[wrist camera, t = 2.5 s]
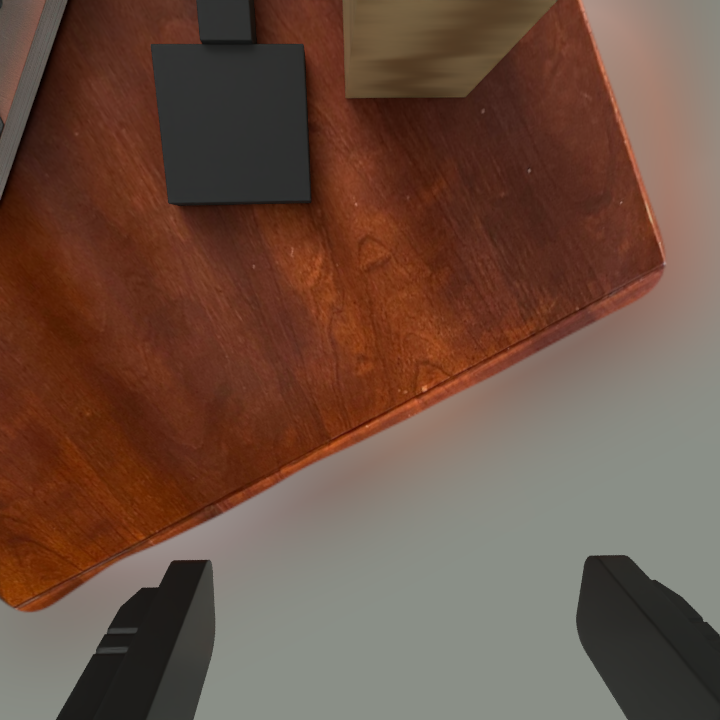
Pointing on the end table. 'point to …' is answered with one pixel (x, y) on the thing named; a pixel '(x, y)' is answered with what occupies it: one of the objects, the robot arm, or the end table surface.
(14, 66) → the picture frame
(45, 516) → the end table surface
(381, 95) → the stand
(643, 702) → the robot arm
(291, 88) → the black pad
